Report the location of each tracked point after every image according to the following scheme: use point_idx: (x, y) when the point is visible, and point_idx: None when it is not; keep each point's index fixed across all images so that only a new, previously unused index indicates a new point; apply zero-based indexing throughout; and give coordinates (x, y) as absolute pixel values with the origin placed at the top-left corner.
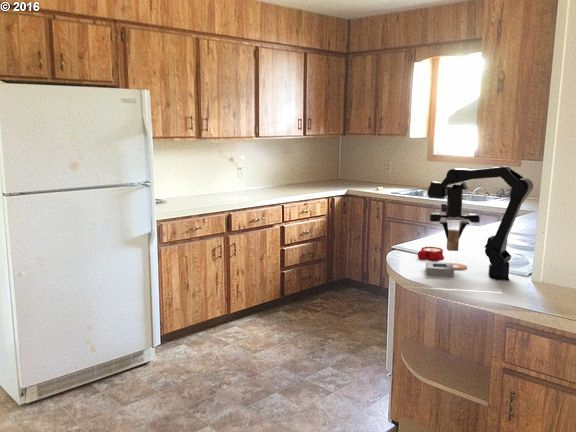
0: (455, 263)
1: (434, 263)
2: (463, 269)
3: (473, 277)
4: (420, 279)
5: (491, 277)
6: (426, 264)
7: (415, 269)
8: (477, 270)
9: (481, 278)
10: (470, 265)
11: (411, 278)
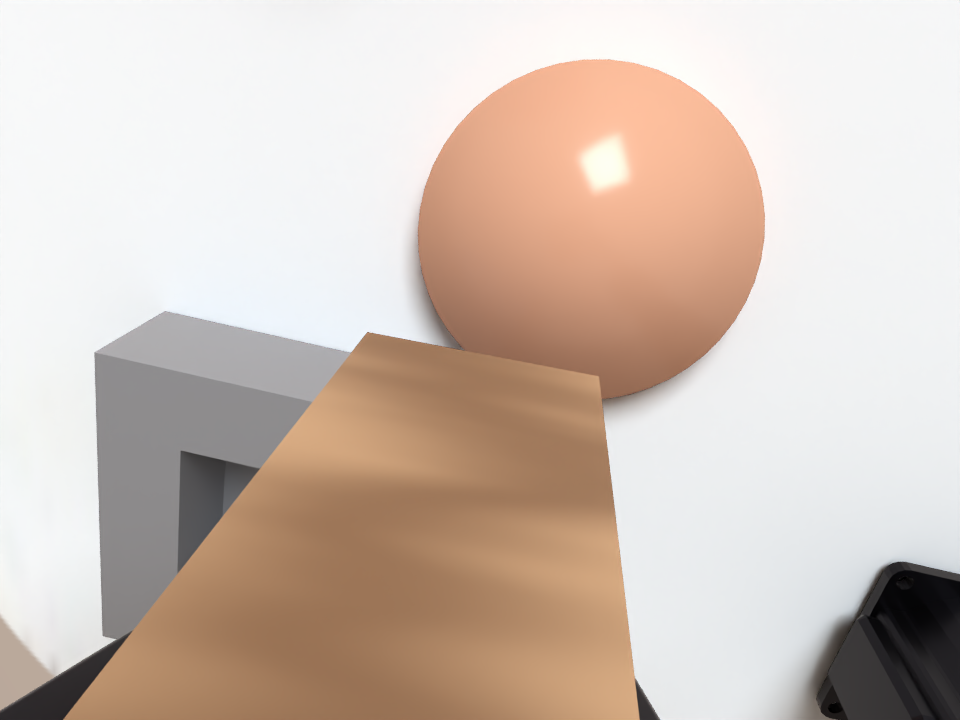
0: (645, 83)
1: (207, 455)
2: (649, 381)
3: (655, 614)
4: (99, 630)
5: (834, 691)
6: (99, 493)
7: (41, 279)
8: (865, 348)
9: (727, 650)
10: (919, 48)
11: (16, 598)
